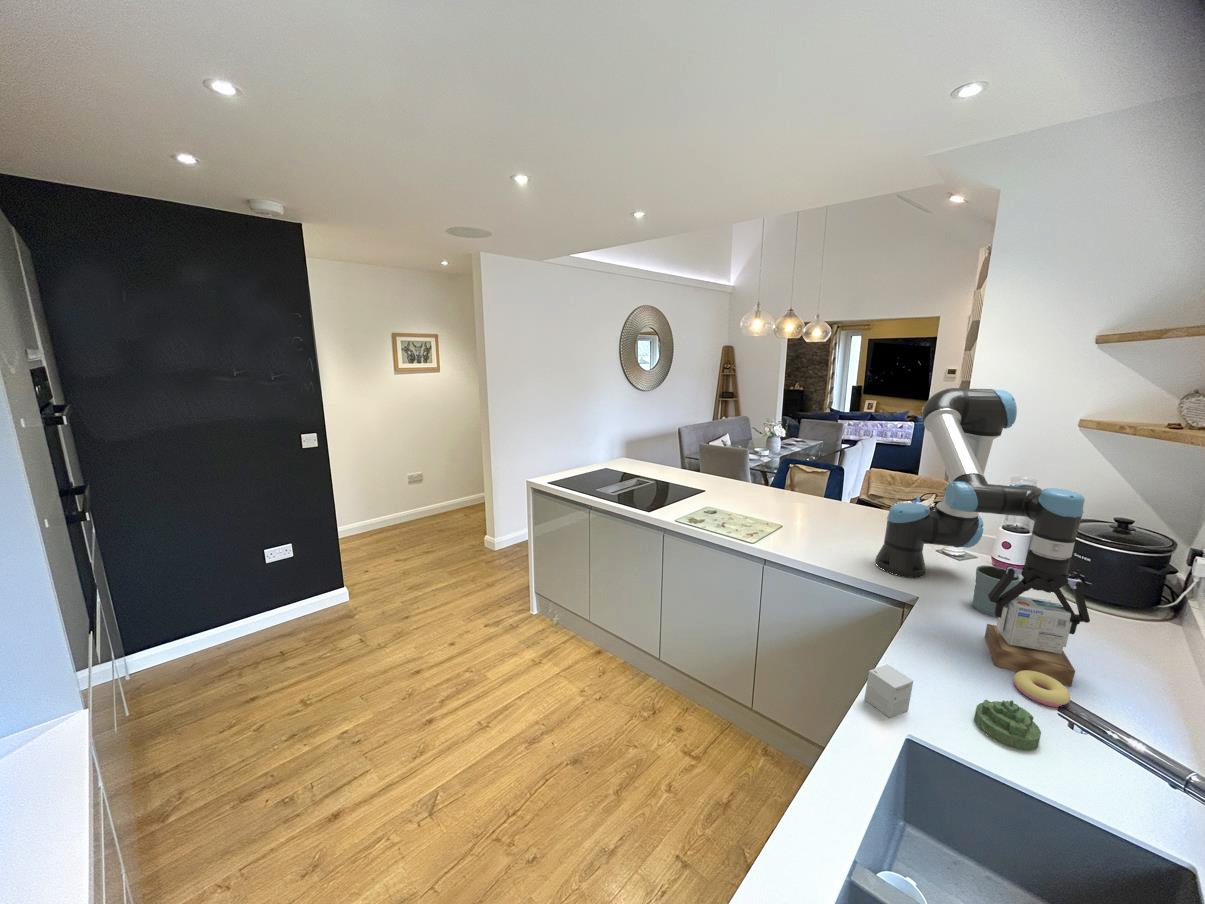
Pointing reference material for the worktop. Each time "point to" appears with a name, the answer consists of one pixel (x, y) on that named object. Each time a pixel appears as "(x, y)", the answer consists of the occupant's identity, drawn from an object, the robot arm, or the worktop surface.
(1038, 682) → the donut
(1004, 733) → the decorative artifact
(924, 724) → the worktop surface
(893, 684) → the grey cube-like block
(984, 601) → the green plant pot
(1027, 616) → the light bulb box
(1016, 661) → the base
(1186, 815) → the worktop surface
